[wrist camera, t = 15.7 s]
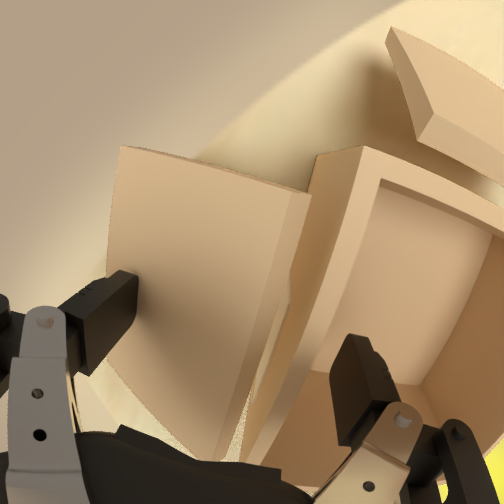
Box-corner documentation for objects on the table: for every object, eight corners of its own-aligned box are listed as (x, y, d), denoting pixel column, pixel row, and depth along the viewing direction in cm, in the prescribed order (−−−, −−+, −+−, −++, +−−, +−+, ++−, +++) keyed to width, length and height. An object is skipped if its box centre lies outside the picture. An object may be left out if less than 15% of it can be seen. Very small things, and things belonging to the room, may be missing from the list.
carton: (422, 397, 20) (459, 487, 10) (250, 370, 20) (228, 489, 11) (505, 231, 15) (601, 281, 6) (315, 154, 16) (360, 143, 6)
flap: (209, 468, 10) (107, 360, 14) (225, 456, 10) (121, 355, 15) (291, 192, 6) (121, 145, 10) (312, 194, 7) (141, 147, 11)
